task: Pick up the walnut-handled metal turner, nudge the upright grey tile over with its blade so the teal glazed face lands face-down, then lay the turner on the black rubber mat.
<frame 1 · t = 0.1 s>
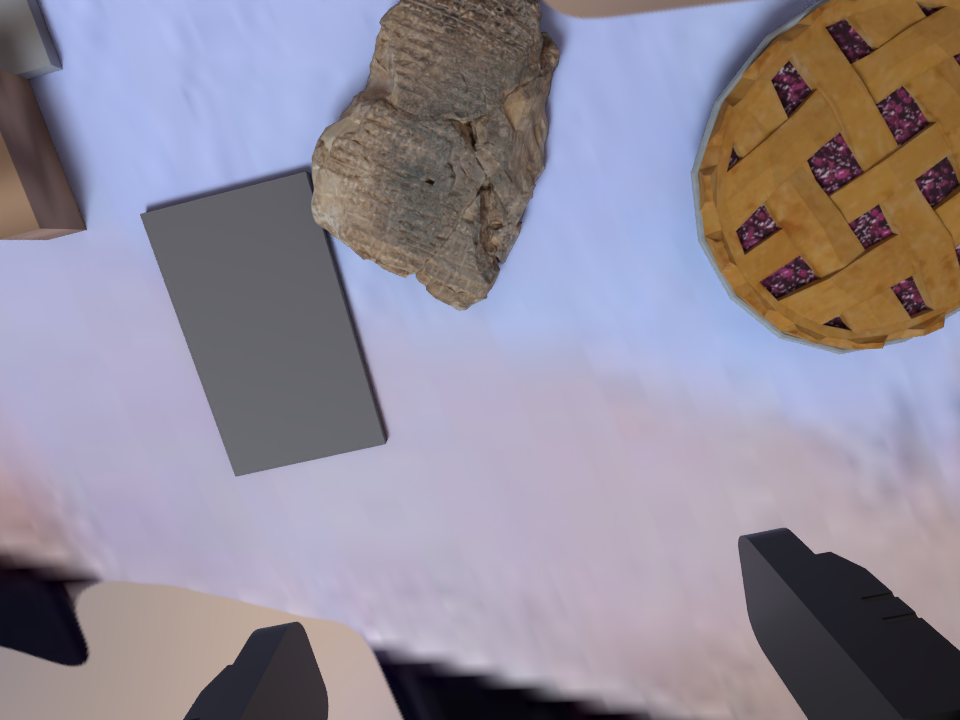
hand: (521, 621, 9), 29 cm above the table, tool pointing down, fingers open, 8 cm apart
clay tablet: (451, 137, 35), on the table
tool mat: (271, 332, 38), on the table
turner: (39, 162, 36), on the table
pie: (838, 183, 36), on the table
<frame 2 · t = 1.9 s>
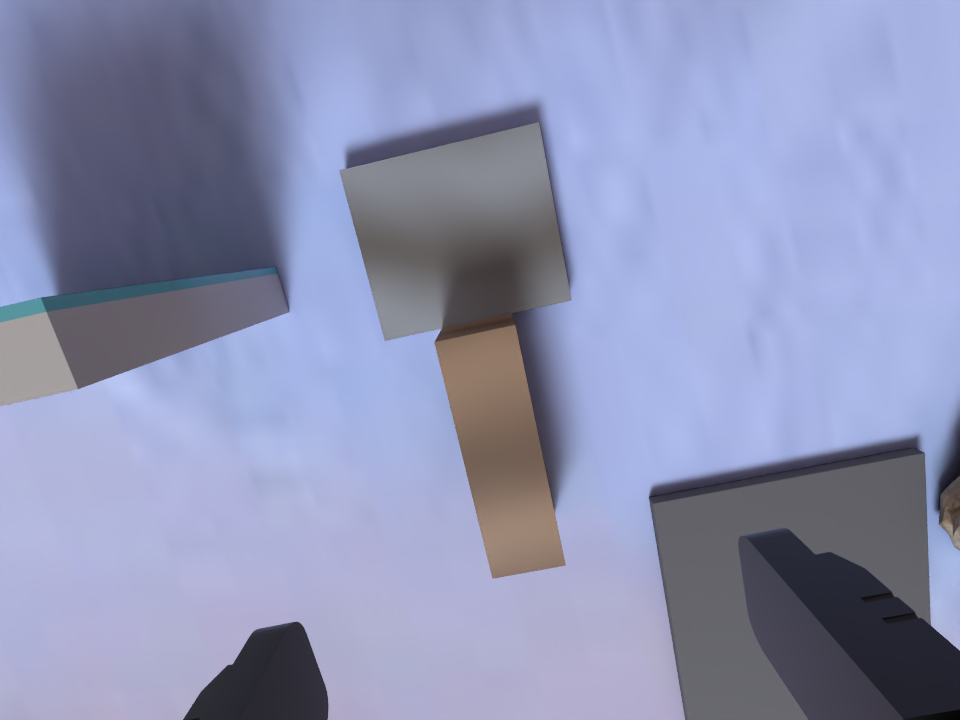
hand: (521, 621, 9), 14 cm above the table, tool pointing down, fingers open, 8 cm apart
tile: (174, 314, 23), on the table
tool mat: (797, 653, 26), on the table
turner: (501, 423, 24), on the table
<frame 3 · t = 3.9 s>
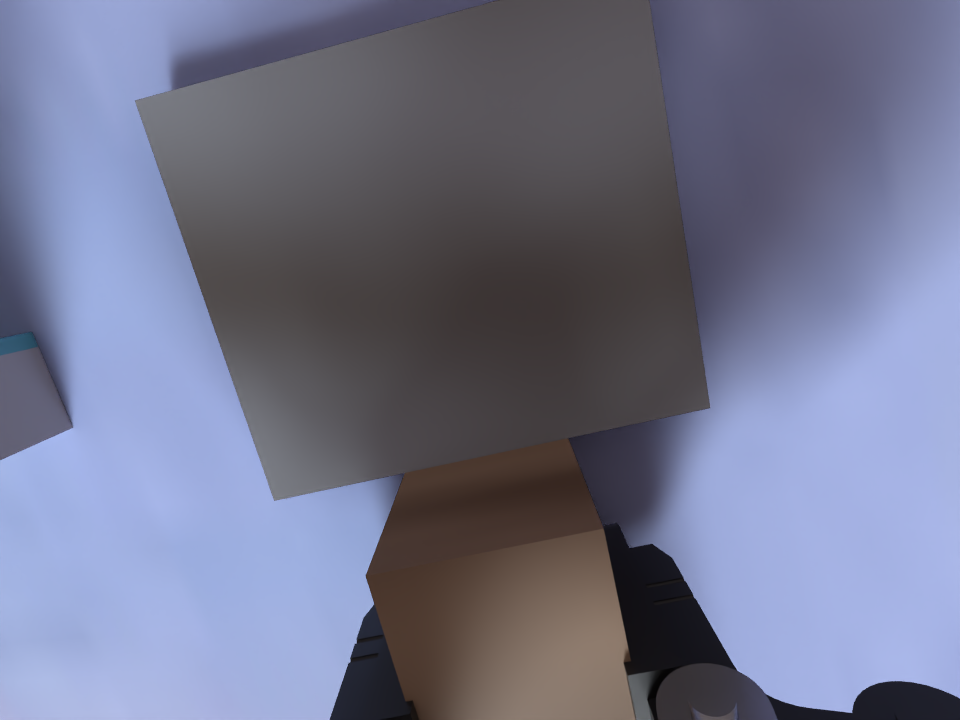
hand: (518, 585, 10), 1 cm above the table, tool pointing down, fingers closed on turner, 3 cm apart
turner: (538, 647, 11), on the table, touching gripper
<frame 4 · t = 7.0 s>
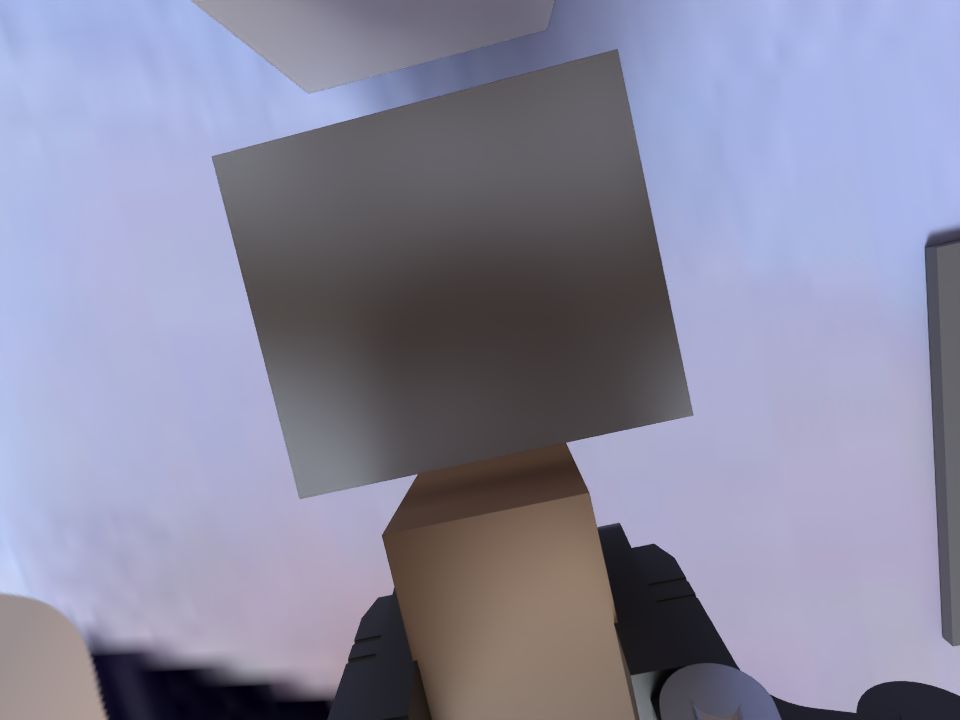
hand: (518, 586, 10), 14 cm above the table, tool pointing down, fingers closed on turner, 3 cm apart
tile: (419, 35, 21), on the table
turner: (542, 662, 12), point 13 cm above the table, tilted 9°, touching gripper
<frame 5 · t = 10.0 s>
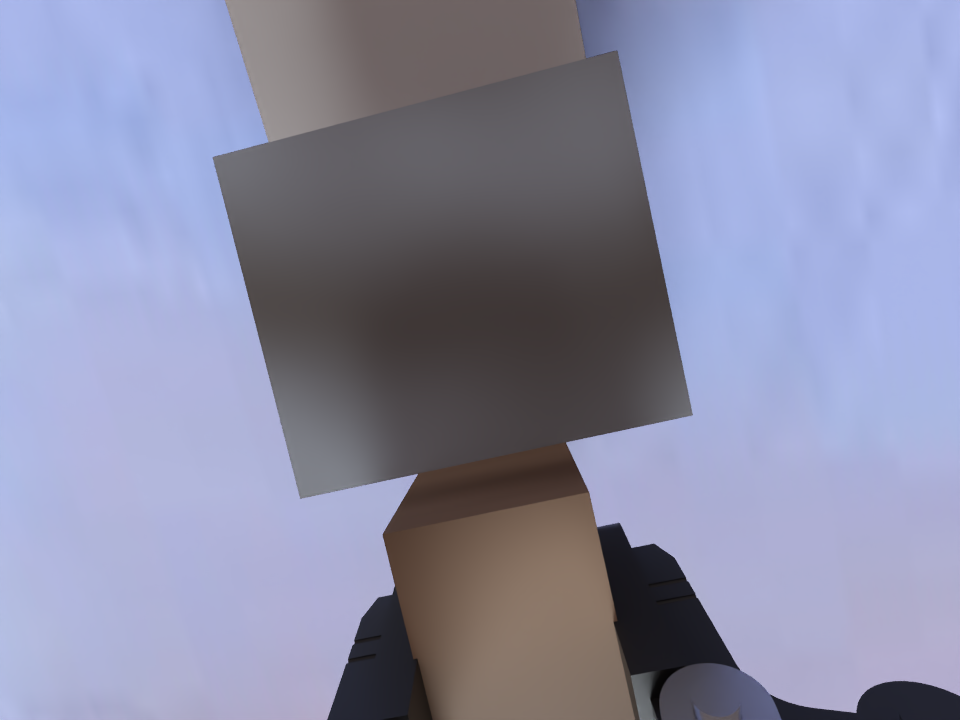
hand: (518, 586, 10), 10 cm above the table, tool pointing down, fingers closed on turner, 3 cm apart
tile: (438, 152, 17), on the table, tilted 90°
turner: (542, 661, 12), point 9 cm above the table, tilted 9°, touching gripper
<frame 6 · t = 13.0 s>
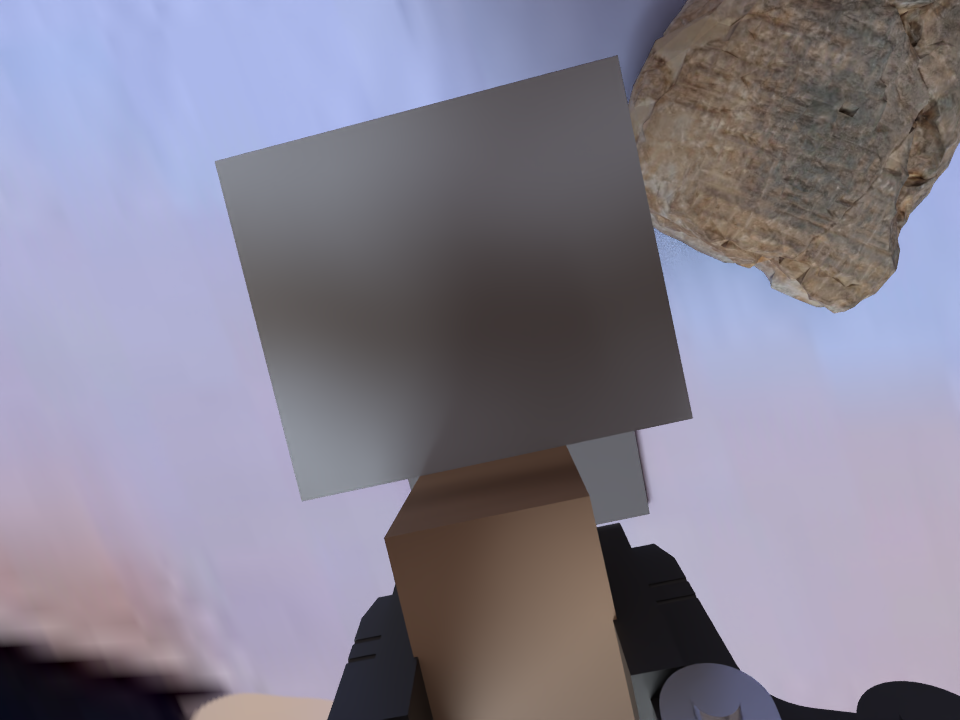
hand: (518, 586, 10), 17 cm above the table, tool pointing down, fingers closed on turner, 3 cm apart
clay tablet: (808, 54, 24), on the table
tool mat: (496, 357, 26), on the table
turner: (543, 663, 12), point 16 cm above the table, tilted 9°, touching gripper
when the fingers open (3 cm above the table, at t = 15.8 s): turner drops 1 cm, resting on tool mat.
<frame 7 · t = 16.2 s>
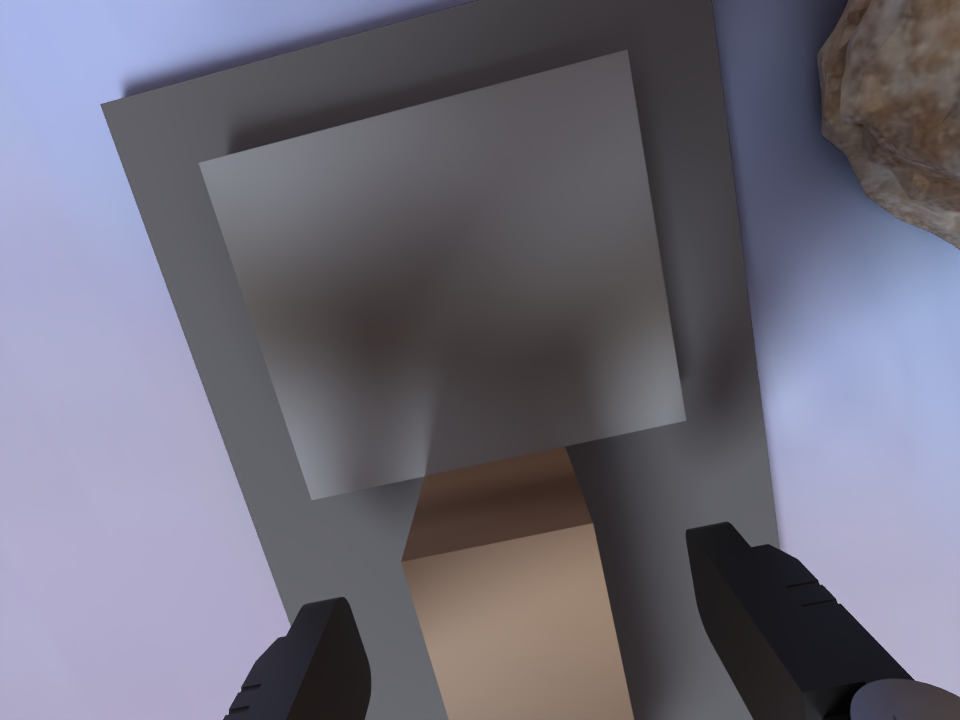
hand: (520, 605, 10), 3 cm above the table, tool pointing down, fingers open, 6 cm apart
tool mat: (503, 480, 13), on the table
turner: (539, 628, 13), point 1 cm above the table, touching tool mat
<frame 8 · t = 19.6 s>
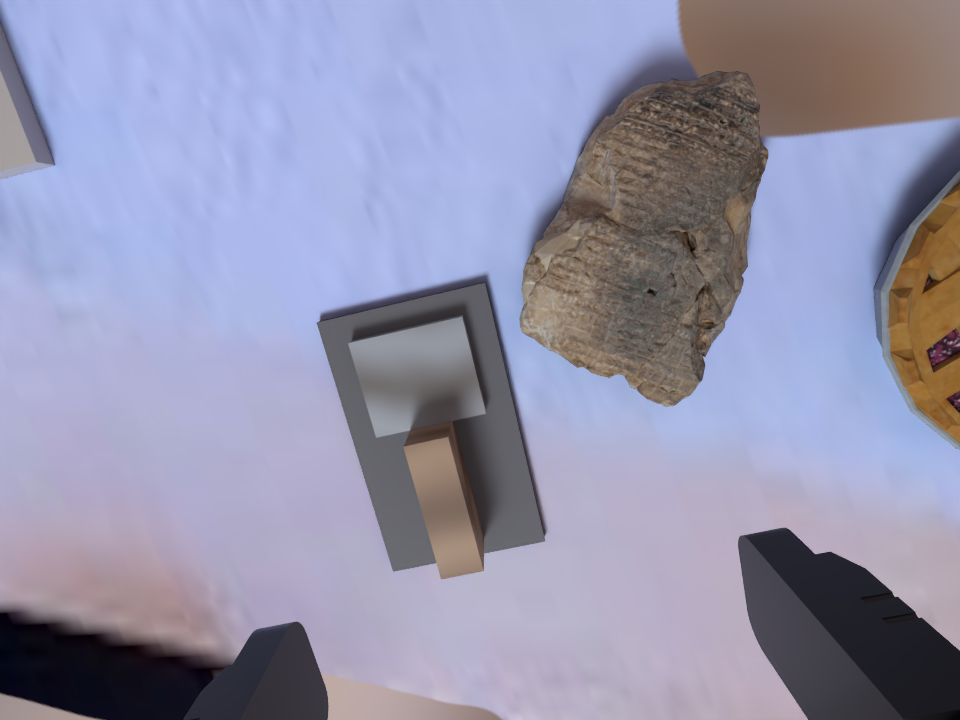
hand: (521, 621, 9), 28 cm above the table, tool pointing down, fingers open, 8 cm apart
clay tablet: (645, 235, 36), on the table
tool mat: (436, 433, 38), on the table
turner: (449, 483, 39), point 1 cm above the table, touching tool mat
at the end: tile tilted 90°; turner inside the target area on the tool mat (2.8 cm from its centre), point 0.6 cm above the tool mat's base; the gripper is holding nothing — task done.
